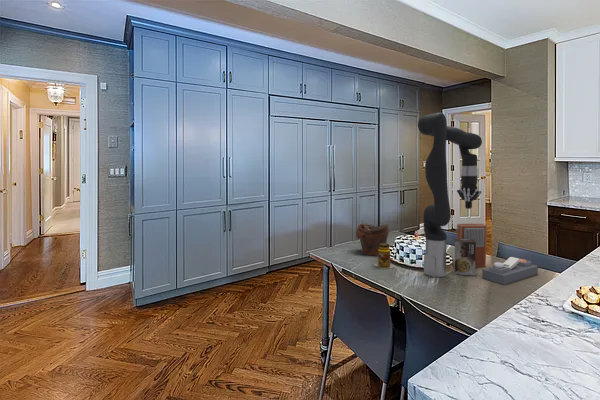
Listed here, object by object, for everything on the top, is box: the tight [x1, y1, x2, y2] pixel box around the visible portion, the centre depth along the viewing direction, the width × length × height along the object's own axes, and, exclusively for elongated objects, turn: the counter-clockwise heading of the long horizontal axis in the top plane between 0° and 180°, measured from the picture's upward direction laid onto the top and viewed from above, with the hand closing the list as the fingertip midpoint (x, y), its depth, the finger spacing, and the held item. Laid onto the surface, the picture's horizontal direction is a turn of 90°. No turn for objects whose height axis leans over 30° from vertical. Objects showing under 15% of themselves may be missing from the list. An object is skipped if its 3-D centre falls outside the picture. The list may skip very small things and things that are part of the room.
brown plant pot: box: [355, 223, 390, 256], centre depth 202 cm, size 18×20×18 cm
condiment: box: [373, 242, 394, 270], centre depth 176 cm, size 7×8×12 cm
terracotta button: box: [519, 258, 528, 263], centre depth 159 cm, size 4×4×2 cm
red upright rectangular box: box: [454, 223, 488, 268], centre depth 172 cm, size 21×7×15 cm
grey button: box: [493, 261, 504, 269], centre depth 151 cm, size 4×4×2 cm
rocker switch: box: [502, 256, 521, 270], centre depth 155 cm, size 8×4×2 cm, turn 116°
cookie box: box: [453, 238, 477, 276], centre depth 161 cm, size 9×6×16 cm
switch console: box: [481, 260, 539, 285], centre depth 155 cm, size 26×10×6 cm, turn 118°
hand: (468, 208), depth 174 cm, fingers closed
